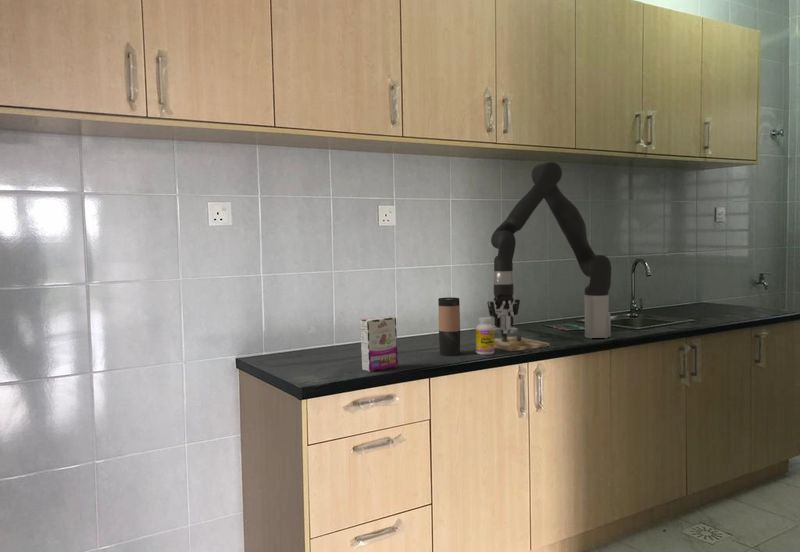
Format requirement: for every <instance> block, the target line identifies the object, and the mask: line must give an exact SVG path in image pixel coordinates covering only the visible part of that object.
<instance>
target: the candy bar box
mask: <svg viewBox="0 0 800 552" xmlns="http://www.w3.org/2000/svg"><path fill="white" fill-rule="evenodd" d="M359 324H360V345H361V347H360V348H361V368H362V370H363V371H365V372H370V373H373V372H378V370H379V371H383V370H389V369H390V370H391V369H394V368H395V369H396V368H398V367H399V365H398V364H399V361H398V360H399V358H398V357H399V355H398V341H397V339H398V338H397V336H398V335H397V334H398V333H397V331H398V330H397V317H395V316H390V315H389V316H388V315H387V316H380V317H379V316H378V317H372V318H365V319H360V320H359Z"/></svg>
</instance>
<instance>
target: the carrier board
mask: <svg viewBox="0 0 800 552" xmlns="http://www.w3.org/2000/svg"><path fill="white" fill-rule="evenodd" d="M547 346H549V347H550V342H545V341H540V340H535V339H530V338H525V337H522V335H521V334H517V335H515V336H514V335H513V336H508V334H503V333H501V337H497V338H496V337H494V349H500V350H504V351H508V352H515V351H516V352H517V351H524V350H532V349H538V348H539V349H540V347H541V348H547Z"/></svg>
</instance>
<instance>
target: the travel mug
mask: <svg viewBox="0 0 800 552" xmlns="http://www.w3.org/2000/svg"><path fill="white" fill-rule="evenodd" d="M437 302H438V303H437V304H438V342H439V355H440V356H445V357H455V356H456V357H457V356H460V354H461V311H460V310H461V307H460V298H459V297H454V296H453V297H439V298H438V300H437Z"/></svg>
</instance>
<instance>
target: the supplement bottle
mask: <svg viewBox="0 0 800 552" xmlns="http://www.w3.org/2000/svg"><path fill="white" fill-rule="evenodd" d="M477 320H478V321H477V322H478V324H477V325H476V326H475V331H474V332H475V354H477V355H481V356H489V355H494V354H495V347H494V339H495V333H494V328H495V325H494V324H492V316H479V317H478V319H477Z"/></svg>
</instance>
